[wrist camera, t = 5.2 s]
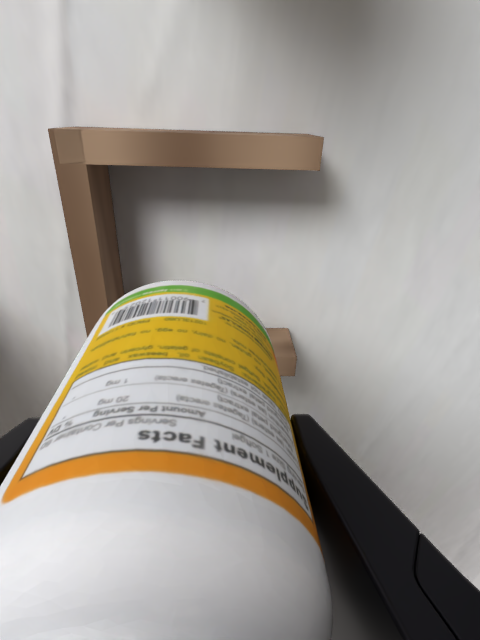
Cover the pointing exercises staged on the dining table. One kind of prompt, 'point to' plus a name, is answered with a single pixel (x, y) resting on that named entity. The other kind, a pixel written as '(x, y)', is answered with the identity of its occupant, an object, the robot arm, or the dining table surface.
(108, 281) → the bay
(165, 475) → the supplement bottle
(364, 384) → the dining table surface
